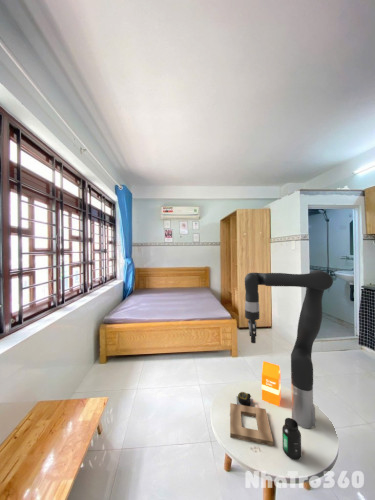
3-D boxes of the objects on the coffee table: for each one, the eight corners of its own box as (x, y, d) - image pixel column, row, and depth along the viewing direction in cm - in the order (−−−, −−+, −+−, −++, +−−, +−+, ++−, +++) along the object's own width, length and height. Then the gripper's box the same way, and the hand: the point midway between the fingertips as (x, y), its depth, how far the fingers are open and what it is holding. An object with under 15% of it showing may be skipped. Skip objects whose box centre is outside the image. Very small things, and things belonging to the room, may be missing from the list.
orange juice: (278, 406, 103) (278, 369, 104) (261, 399, 108) (261, 363, 109) (281, 397, 109) (280, 362, 110) (264, 391, 114) (264, 357, 115)
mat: (252, 399, 108) (252, 398, 108) (254, 410, 100) (254, 409, 100) (236, 396, 110) (236, 396, 110) (236, 407, 102) (236, 406, 102)
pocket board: (265, 412, 99) (265, 409, 99) (273, 446, 81) (273, 441, 82) (230, 406, 103) (230, 403, 103) (230, 437, 85) (230, 433, 85)
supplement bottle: (285, 458, 76) (284, 427, 77) (280, 442, 83) (280, 414, 83) (304, 462, 75) (303, 431, 75) (298, 446, 81) (297, 417, 82)
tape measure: (250, 409, 101) (250, 401, 101) (237, 405, 103) (237, 398, 103) (250, 399, 107) (250, 393, 107) (238, 396, 110) (238, 390, 110)
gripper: (244, 305, 112) (244, 333, 111) (246, 312, 98) (246, 344, 97) (257, 306, 110) (257, 334, 110) (261, 313, 96) (261, 346, 96)
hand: (252, 339), depth 104 cm, fingers open, 8 cm apart
